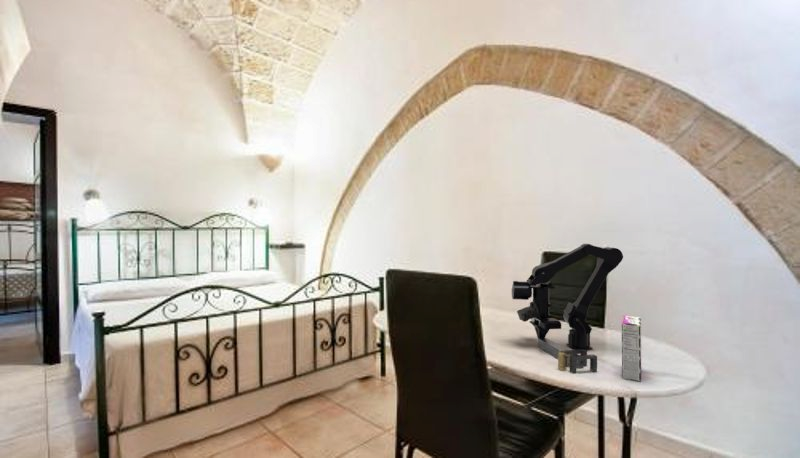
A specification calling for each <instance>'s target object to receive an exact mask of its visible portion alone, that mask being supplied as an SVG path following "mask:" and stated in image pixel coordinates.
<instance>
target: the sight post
mask: <svg viewBox="0 0 800 458" xmlns="http://www.w3.org/2000/svg"><path fill="white" fill-rule="evenodd" d="M570 356H571V355H566V354H565V353H563V352H562V353H558V359H557V362H558V363H557V369H558V370H560V371H566V370H567V367H566V358H570Z"/></svg>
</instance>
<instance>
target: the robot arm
mask: <svg viewBox="0 0 800 458" xmlns="http://www.w3.org/2000/svg"><path fill="white" fill-rule="evenodd" d="M588 256H593V257H595V258H596V266H595V268H594V270H593V272H592V273H591V275H590V277H589V279H588V281H587V282H586V284H585V285H584V287H583V289H582V291H581V292H580V294H579V295H578V297H577V299H576V300H575V301H574V302H572V303H571V302H570V301H568V303H567V305H566V307H565V309H563V310H562V311H563V316H562V317H563V319H564V322H566V323H567V324H568V326H569V328H571V329H569V331H568V334H567V343H566V346H568V347H570V348H572V349H573V350H580V349H584V350H586V351H587V350H593V347H592V346H591V333H592V329H593V328H592V327H591V326H590V324H588V323H587V322H586V320H587V317H588V314H589V313H588V311H589V307H590V305H591V304H592V302H593V301H594V299H595V297H596V295H597V294H598V292H599V291H600V289H601V287H602V285H603V283H604V281H605V280H606V279H607V276H608V275H609V274H610V273H611V272H612V271H614V270H615V269H616V267H618V266H619V264H621V262H622V261H623V259H624V254H623V252H622V251H621V250H620V249H619V248H615V247H612V246H611V247H609V246H605V247H601V246H600V247H599V246H597V245H592V244H590V243H583V244H580V245H579V246H578V247H576V248H574V249H573V250H571V251H569V252H567V253H564V254H563V255H561V256H560V257H558V258H556V259H554V260H553V261H552V260H551V261H548V262H545V263H542V264H539V265H536V266H535V267H533V268H532V269H531V275H530V276H529V277H528V278H527V280H526V281H518V280H513V281H512V288H511V299H512V300H526V301H529V299H531V298H532V301H530V302H529V306H526V307H523V308H520V309H518V310H517V311H516V313H517V316H518V318H519V320H521V321H522V322H525V323H526V322H528V321H529V320H530V321H529V324H531V325H532V326H533V327H534V330H535V333H536V337H537V339H538V338H546V336H547V335H548V333H549V331H550V330H561V329H562V322H561V321H560V320H558V319H556V318H554V317H553V318H552V315H551V314H550V308H551V307H552V303H550V290H551V289H552V290H554V289H556V286H554V284H553V283H552V282H551V279H553V278H554V277H555V276H556V275H557V274H558V273H559V272H560V271H562V270H563V269H565V268H567V267H569V266H571V265H573V264H575V263H577V262H579V261H581V260H582V259H584V258H586V257H588Z"/></svg>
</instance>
